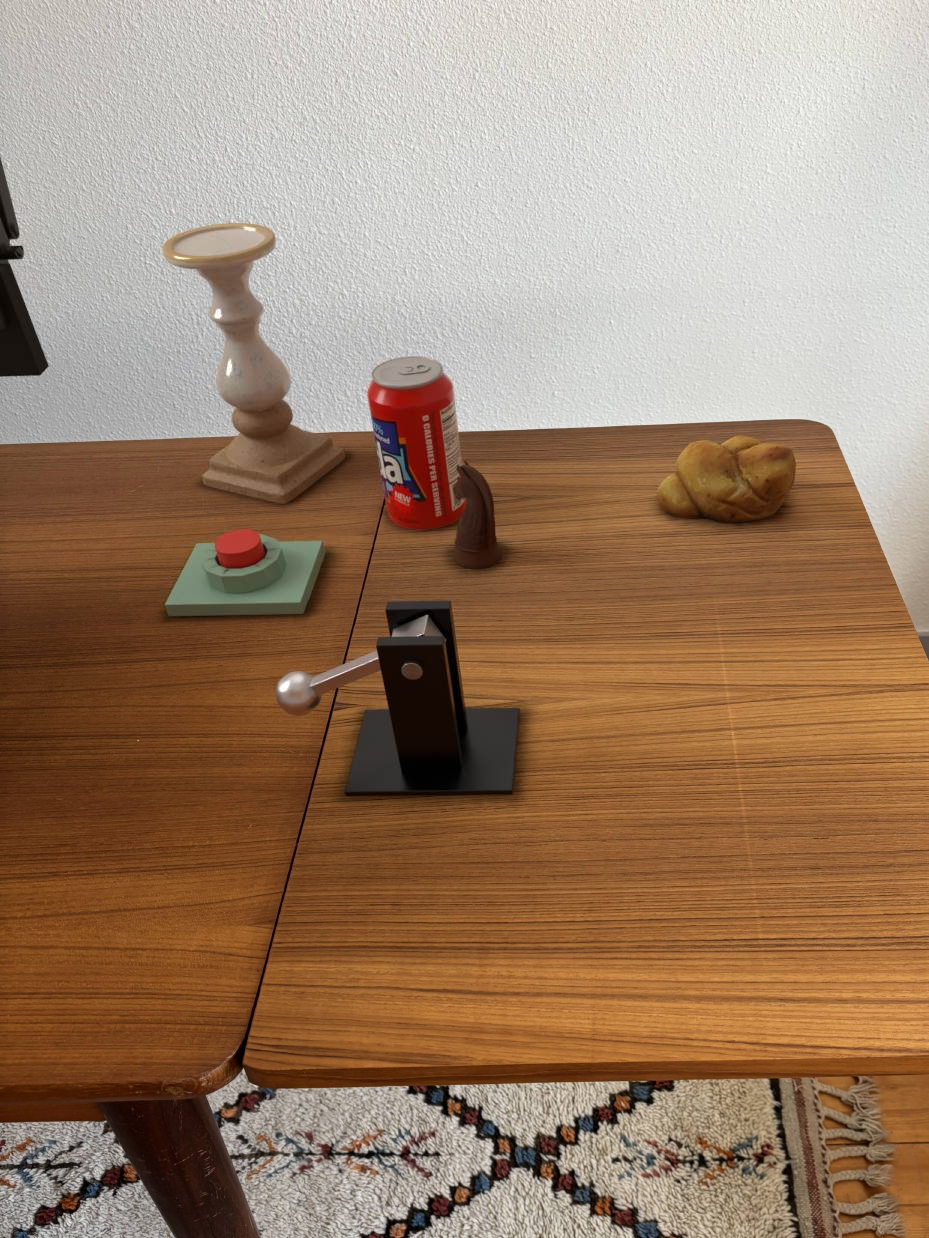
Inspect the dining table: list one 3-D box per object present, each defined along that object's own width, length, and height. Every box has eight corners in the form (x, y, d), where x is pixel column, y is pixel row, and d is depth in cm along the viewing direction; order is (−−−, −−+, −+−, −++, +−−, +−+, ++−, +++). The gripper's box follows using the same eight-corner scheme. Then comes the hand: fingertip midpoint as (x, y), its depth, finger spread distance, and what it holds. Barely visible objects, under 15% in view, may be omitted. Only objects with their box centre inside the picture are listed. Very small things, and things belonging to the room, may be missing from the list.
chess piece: (480, 544, 100) (469, 447, 94) (516, 564, 98) (508, 465, 91) (443, 564, 98) (430, 467, 91) (480, 585, 95) (469, 485, 89)
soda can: (474, 529, 102) (457, 380, 92) (394, 543, 101) (368, 393, 91) (460, 491, 108) (443, 346, 98) (384, 503, 107) (359, 358, 97)
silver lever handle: (289, 731, 75) (261, 700, 73) (299, 701, 77) (271, 671, 75) (445, 668, 70) (419, 633, 68) (450, 639, 73) (425, 605, 71)
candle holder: (268, 445, 117) (211, 215, 101) (349, 463, 114) (303, 227, 97) (203, 491, 110) (130, 251, 94) (287, 512, 106) (227, 265, 90)
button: (214, 570, 92) (208, 553, 91) (226, 546, 95) (221, 529, 94) (259, 569, 92) (254, 552, 91) (269, 545, 95) (265, 528, 94)
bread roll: (656, 534, 101) (658, 457, 95) (656, 483, 108) (657, 409, 102) (792, 533, 100) (802, 456, 94) (783, 483, 107) (791, 407, 101)
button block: (171, 625, 93) (157, 587, 90) (203, 562, 100) (191, 526, 97) (305, 622, 92) (295, 584, 90) (327, 560, 100) (318, 523, 97)
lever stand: (347, 805, 76) (311, 665, 67) (367, 722, 82) (337, 585, 73) (513, 804, 75) (499, 662, 66) (520, 720, 82) (508, 582, 73)
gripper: (-152, -76, 48) (41, 413, 64) (-29, -101, 58) (113, 330, 74) (-310, -68, 48) (-78, 417, 64) (-161, -94, 58) (9, 334, 74)
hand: (24, 370), depth 69 cm, fingers closed
